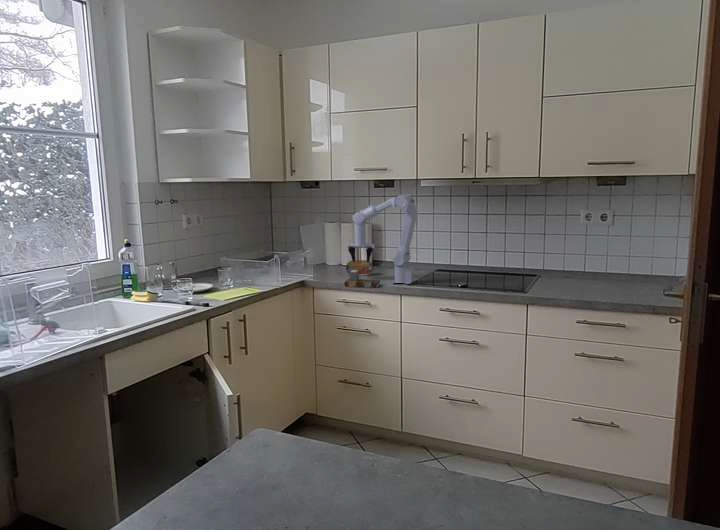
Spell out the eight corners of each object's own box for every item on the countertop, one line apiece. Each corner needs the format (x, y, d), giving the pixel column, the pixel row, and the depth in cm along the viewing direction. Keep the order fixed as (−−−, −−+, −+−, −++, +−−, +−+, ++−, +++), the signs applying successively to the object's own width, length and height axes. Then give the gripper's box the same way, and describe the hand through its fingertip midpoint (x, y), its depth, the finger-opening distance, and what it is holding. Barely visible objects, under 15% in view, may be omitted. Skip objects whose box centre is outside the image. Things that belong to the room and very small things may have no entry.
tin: (346, 275, 285) (345, 260, 283) (347, 274, 288) (347, 259, 286) (372, 276, 281) (372, 260, 280) (374, 274, 284) (373, 259, 283)
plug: (359, 284, 260) (358, 270, 259) (357, 286, 257) (356, 271, 255) (352, 284, 261) (351, 269, 260) (350, 286, 258) (349, 271, 256)
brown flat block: (379, 284, 259) (379, 279, 258) (375, 288, 252) (375, 282, 251) (349, 283, 263) (348, 278, 263) (344, 286, 256) (344, 281, 256)
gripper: (344, 236, 264) (345, 262, 267) (371, 236, 260) (372, 263, 262) (348, 234, 271) (349, 260, 273) (375, 235, 267) (376, 261, 269)
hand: (360, 261), depth 268 cm, fingers open, 7 cm apart
